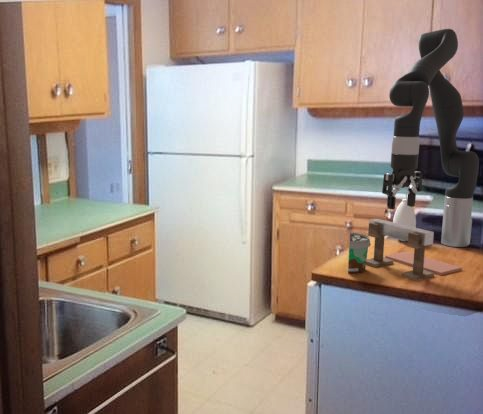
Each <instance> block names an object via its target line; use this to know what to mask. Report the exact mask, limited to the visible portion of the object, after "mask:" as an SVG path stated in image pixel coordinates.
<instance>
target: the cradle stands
mask: <svg viewBox="0 0 483 414" xmlns="http://www.w3.org/2000/svg"><path fill="white" fill-rule="evenodd" d="M378 227H379V224H375V223H369V222H368V233H367V236H368V237H371V238H374V247H373V248H374V250H373V258H368V259H367V260H366V266H370V267H372V268H379V267H383V266H384V267H385V266H387V265H391V264H392V265H393V264H394V261H393V260H390V259H387V258H385V256H384V251H385V247H384V246H385V237H387V236H386V235H382V234H379V233H378ZM432 246H433V244H431V245H426V246H424V245H420V244H419V234H415V233H411V232H410V233H408V241H407V247H408V248H412V249H414V251H413V254H414V262H413V267H412V270H408V271H405V272H401V277H403V278H406V279H409V280H411V281H415V282H417V281H421V280H425V279H429V278H432V277H435V273H432V272H429V271H426V270H423V266H424V257H425V252H426V251H425V250H426V248H428V247H432Z"/></svg>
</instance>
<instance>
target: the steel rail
mask: <svg viewBox="0 0 483 414" xmlns="http://www.w3.org/2000/svg"><path fill="white" fill-rule="evenodd" d="M369 223H375V224H379V227H378V233H379V234H382V235H386V236H385V237H390V238H394V239H398V240H399V239H401V240H405V241H404V242H408V233H410V232H411V233H415V234H419V244H420V245H424V246H426V245H431V244H432V245H433V244H434V235H435V234H434V233H435V232H434V231H432V230H428V229H427V230H426V229H423V228H417V227H416V228H415V227H410V226H406V225H402V224H398V223H393V221H390V220H384V219H381V218H373V219H369V221H368V224H369Z"/></svg>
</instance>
